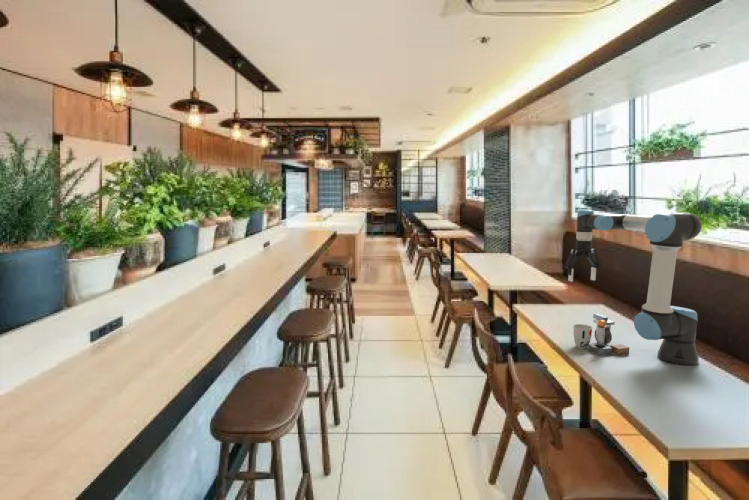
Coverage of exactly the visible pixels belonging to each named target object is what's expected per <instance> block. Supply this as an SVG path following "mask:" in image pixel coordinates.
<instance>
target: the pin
mask: <svg viewBox="0 0 749 500" xmlns="http://www.w3.org/2000/svg"><path fill="white" fill-rule="evenodd" d="M605 327H606V325H605V320H598V331H597V341H596V344H597V347H598V348H604V345H605V344H604V336H605Z"/></svg>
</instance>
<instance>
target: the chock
mask: <svg viewBox="0 0 749 500" xmlns="http://www.w3.org/2000/svg"><path fill="white" fill-rule="evenodd" d="M609 347H611V348H612V355H616V356H627V355H629V354H630V347H629V346H627V345H624V344H622V343H618V344H616V343H615V344H610V345H609Z"/></svg>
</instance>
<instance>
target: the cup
mask: <svg viewBox="0 0 749 500" xmlns="http://www.w3.org/2000/svg"><path fill="white" fill-rule="evenodd" d="M592 333H593V327H592V326H591V325H588V324H581V323H579V324H578V323H577V324H573V340H574V341H573V342H574V344H575V348H577V349H579V350H580V349H581V350H585V349H587V350H588V344H591V343H590V342H591V338H592Z"/></svg>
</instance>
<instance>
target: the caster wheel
mask: <svg viewBox="0 0 749 500" xmlns="http://www.w3.org/2000/svg"><path fill="white" fill-rule="evenodd" d="M592 318H593V323H595V324H596V328H595V331H594V339H595V341H596V342H597V331H598V320H605V336H604V345H609V344H611V342H612V340H613V339H612V338H613V336H612V332H611V326H614V325H615V324H616V323H615V321H613V320H611V319H609V317H608V316H605V315H602V314H600V313H593V316H592Z"/></svg>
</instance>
